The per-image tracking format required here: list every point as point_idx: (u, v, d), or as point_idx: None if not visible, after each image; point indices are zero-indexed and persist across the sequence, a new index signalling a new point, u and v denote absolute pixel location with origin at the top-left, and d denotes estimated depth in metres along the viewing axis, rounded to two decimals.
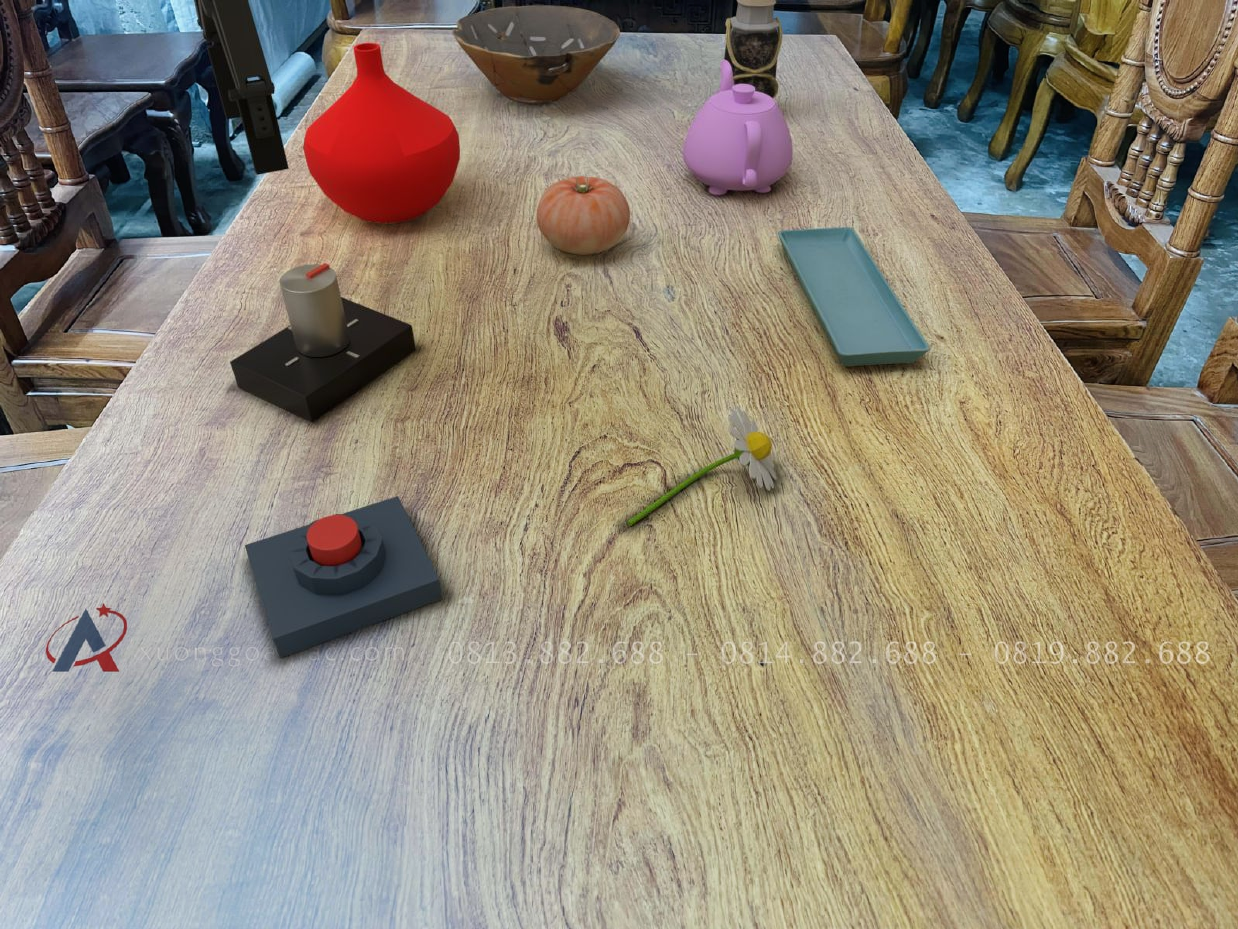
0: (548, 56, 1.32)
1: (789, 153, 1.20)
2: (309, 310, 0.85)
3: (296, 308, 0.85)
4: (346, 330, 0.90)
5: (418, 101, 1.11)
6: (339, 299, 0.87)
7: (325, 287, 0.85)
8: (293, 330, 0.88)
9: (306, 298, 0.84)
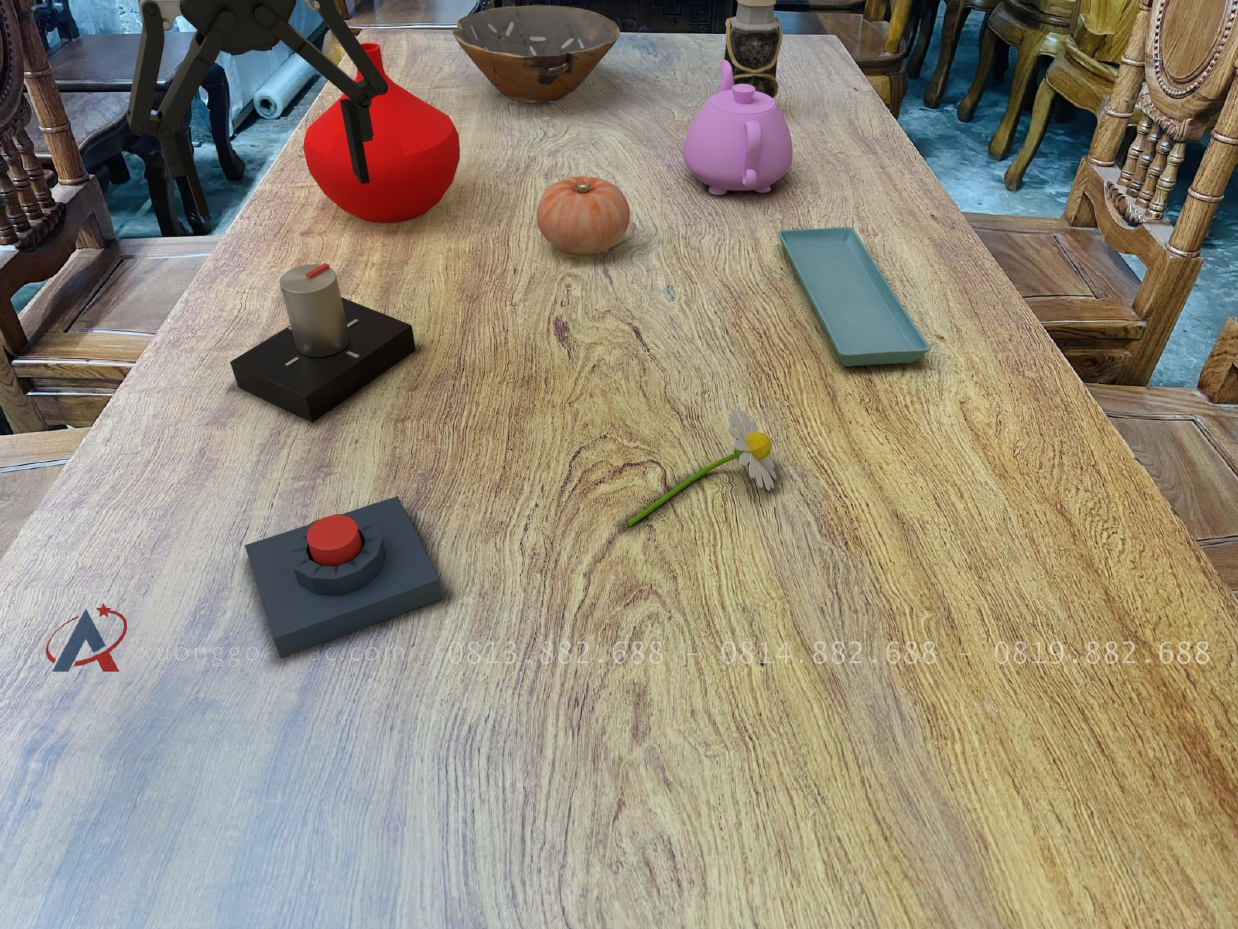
0: (548, 56, 1.32)
1: (789, 153, 1.20)
2: (309, 310, 0.85)
3: (296, 308, 0.85)
4: (346, 330, 0.90)
5: (418, 101, 1.11)
6: (339, 299, 0.87)
7: (325, 287, 0.85)
8: (293, 330, 0.88)
9: (306, 298, 0.84)
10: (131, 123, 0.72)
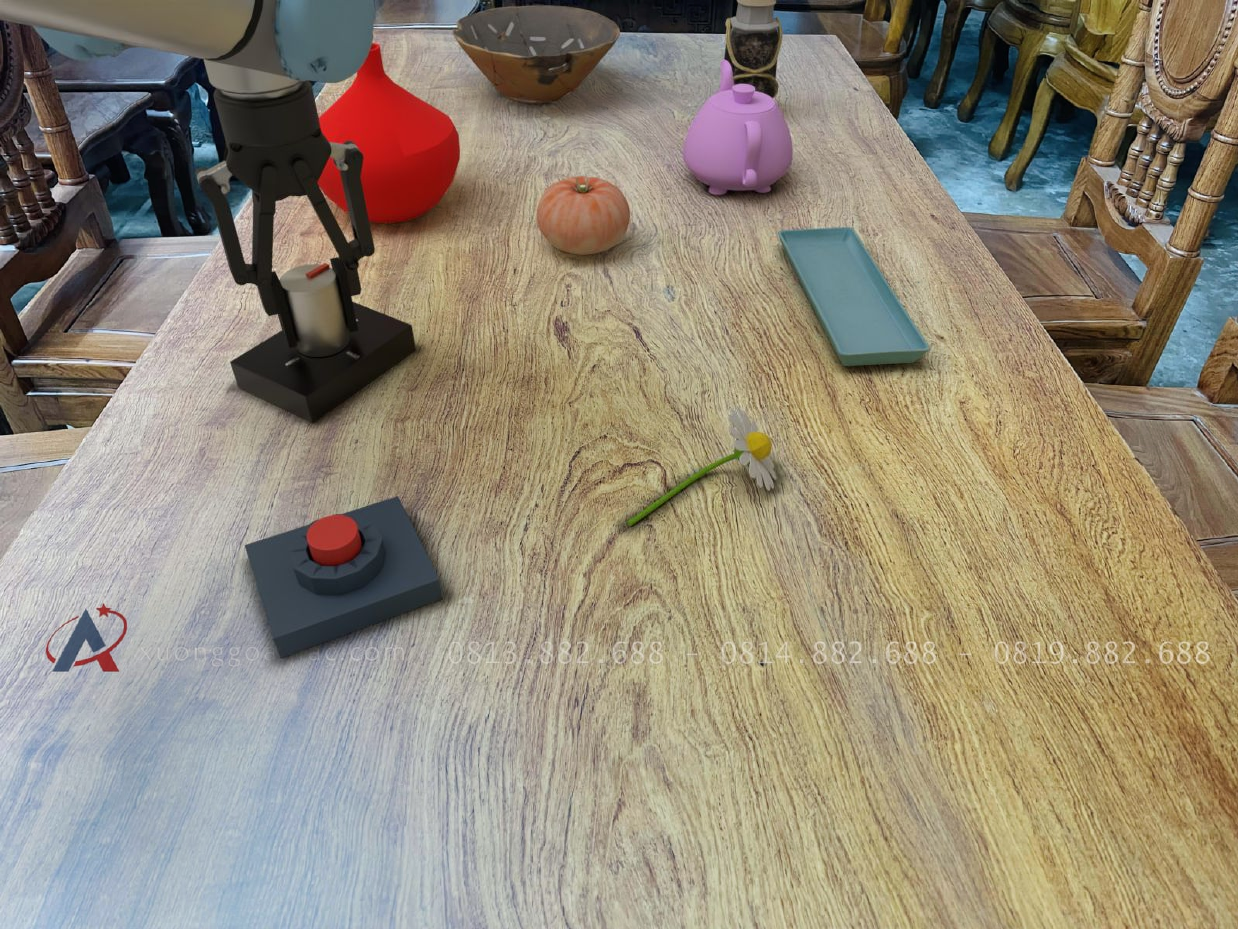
0: (548, 56, 1.32)
1: (789, 153, 1.20)
2: (309, 310, 0.85)
3: (296, 308, 0.85)
4: (346, 330, 0.90)
5: (418, 101, 1.11)
6: (339, 299, 0.87)
7: (325, 287, 0.85)
8: None
9: (306, 298, 0.84)
10: (234, 278, 0.81)
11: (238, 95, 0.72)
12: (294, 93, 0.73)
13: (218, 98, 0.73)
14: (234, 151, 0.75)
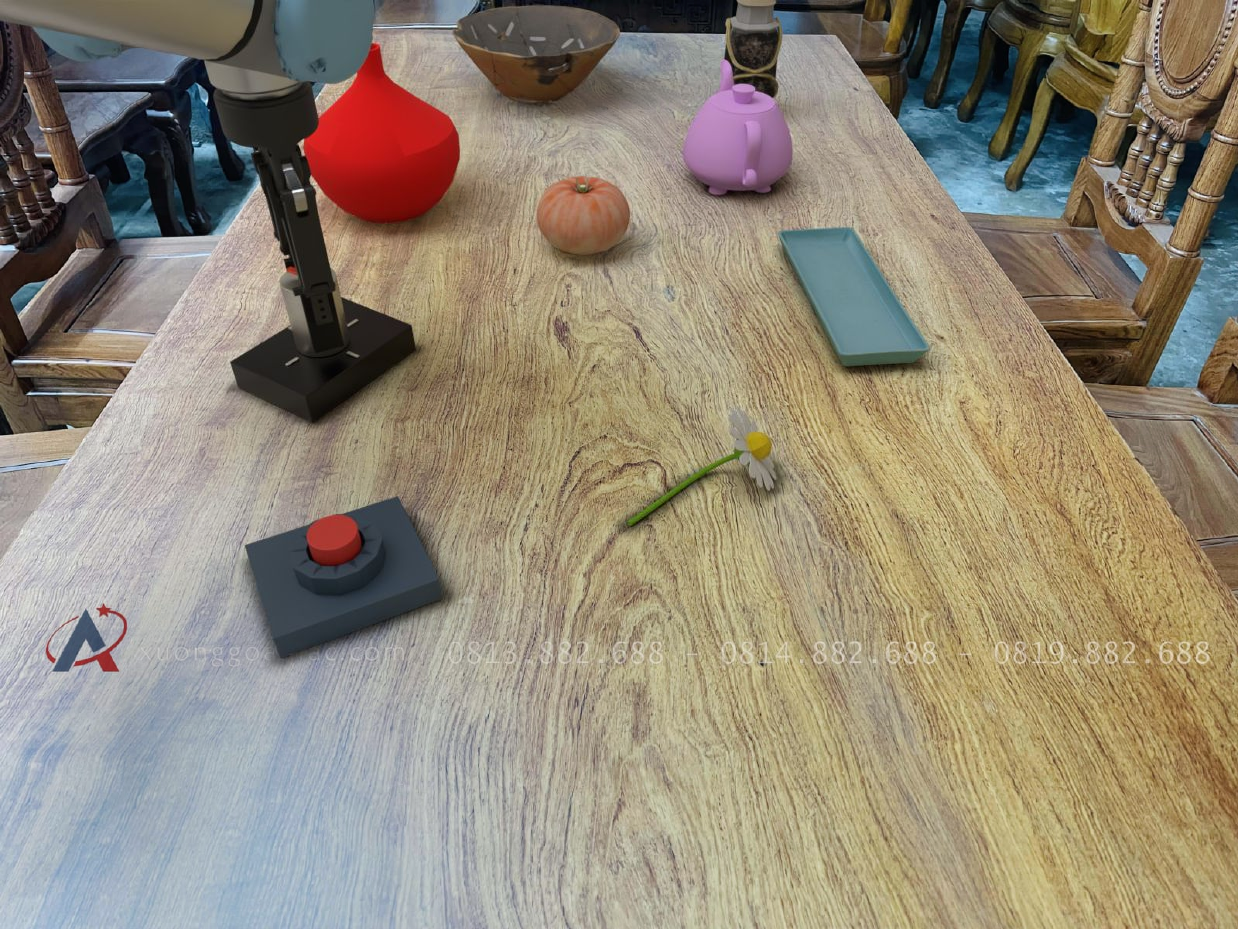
0: (548, 56, 1.32)
1: (789, 153, 1.20)
2: (339, 294, 0.87)
3: (335, 300, 0.86)
4: None
5: (418, 101, 1.11)
6: None
7: None
8: None
9: (337, 282, 0.87)
10: (333, 285, 0.81)
11: (296, 85, 0.74)
12: None
13: (280, 102, 0.72)
14: None
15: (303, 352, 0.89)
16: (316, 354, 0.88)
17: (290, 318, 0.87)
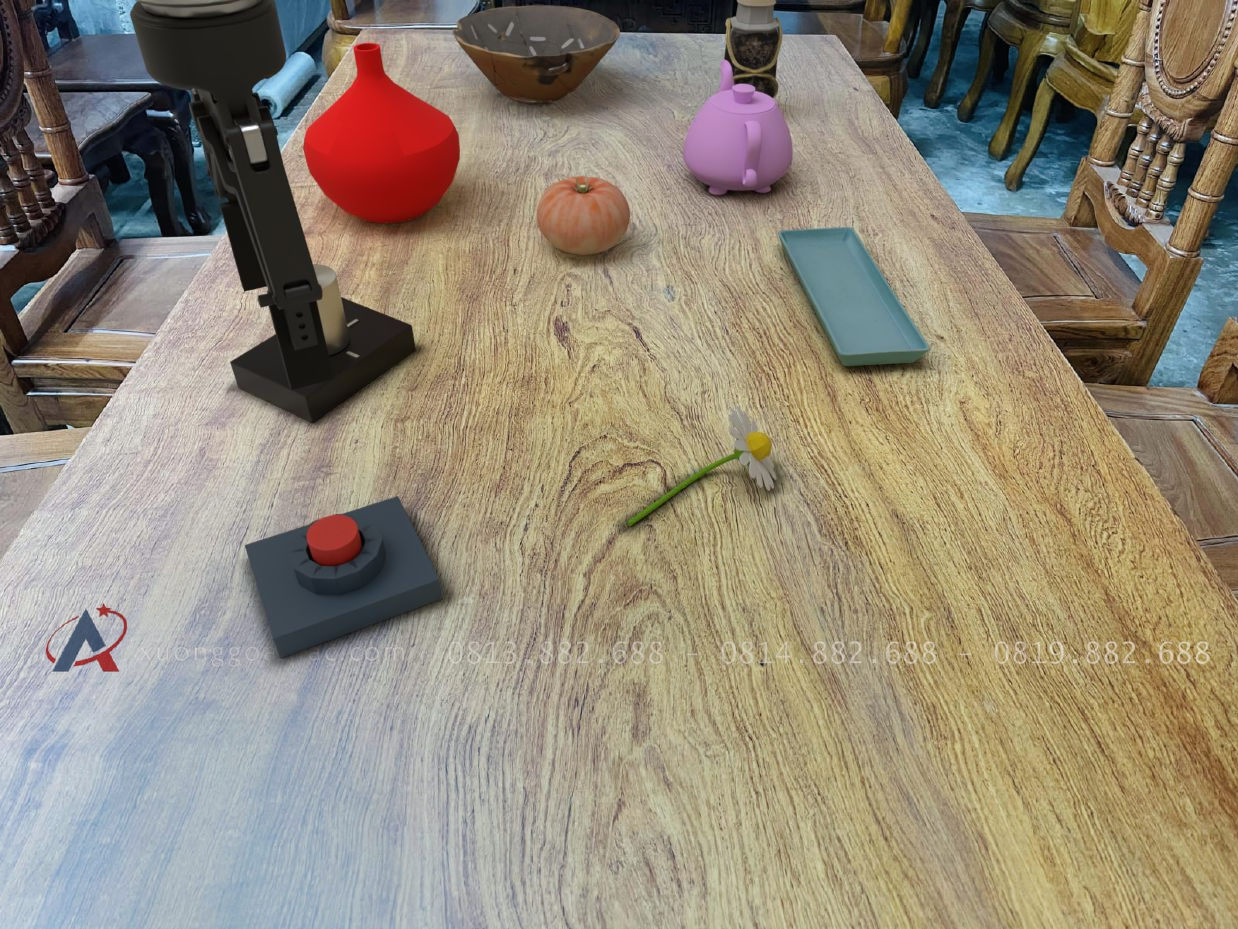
0: (548, 56, 1.32)
1: (789, 153, 1.20)
2: (339, 294, 0.87)
3: (335, 300, 0.86)
4: None
5: (418, 101, 1.11)
6: None
7: (329, 267, 0.87)
8: (330, 332, 0.87)
9: (337, 282, 0.87)
10: (318, 286, 0.54)
11: None
12: None
13: (229, 21, 0.49)
14: None
15: None
16: None
17: None
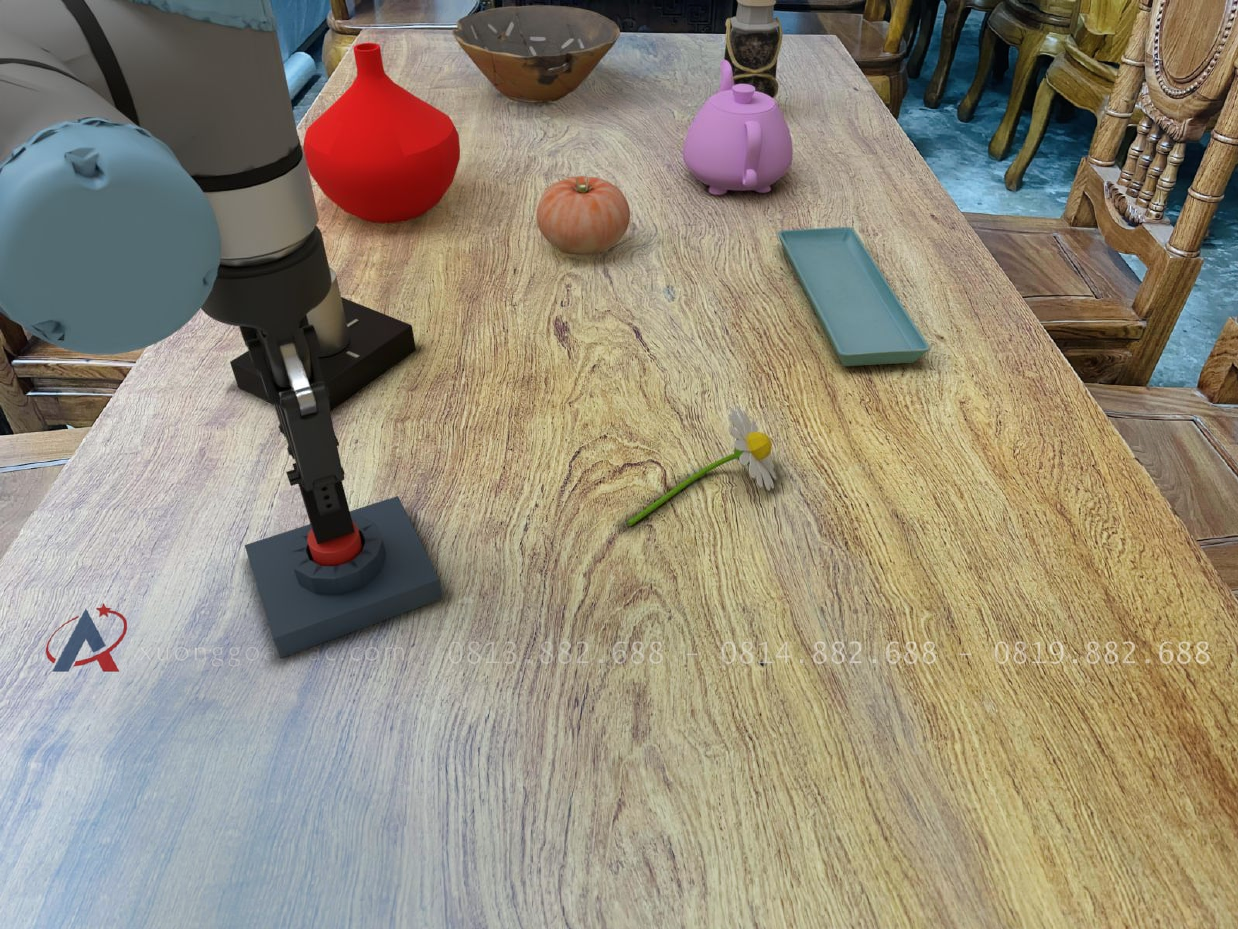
0: (548, 56, 1.32)
1: (789, 153, 1.20)
2: (339, 294, 0.87)
3: (335, 300, 0.86)
4: None
5: (418, 101, 1.11)
6: None
7: (329, 267, 0.87)
8: (330, 332, 0.87)
9: (337, 282, 0.87)
10: (342, 476, 0.61)
11: (301, 240, 0.52)
12: None
13: (278, 267, 0.51)
14: (302, 334, 0.54)
15: None
16: None
17: None
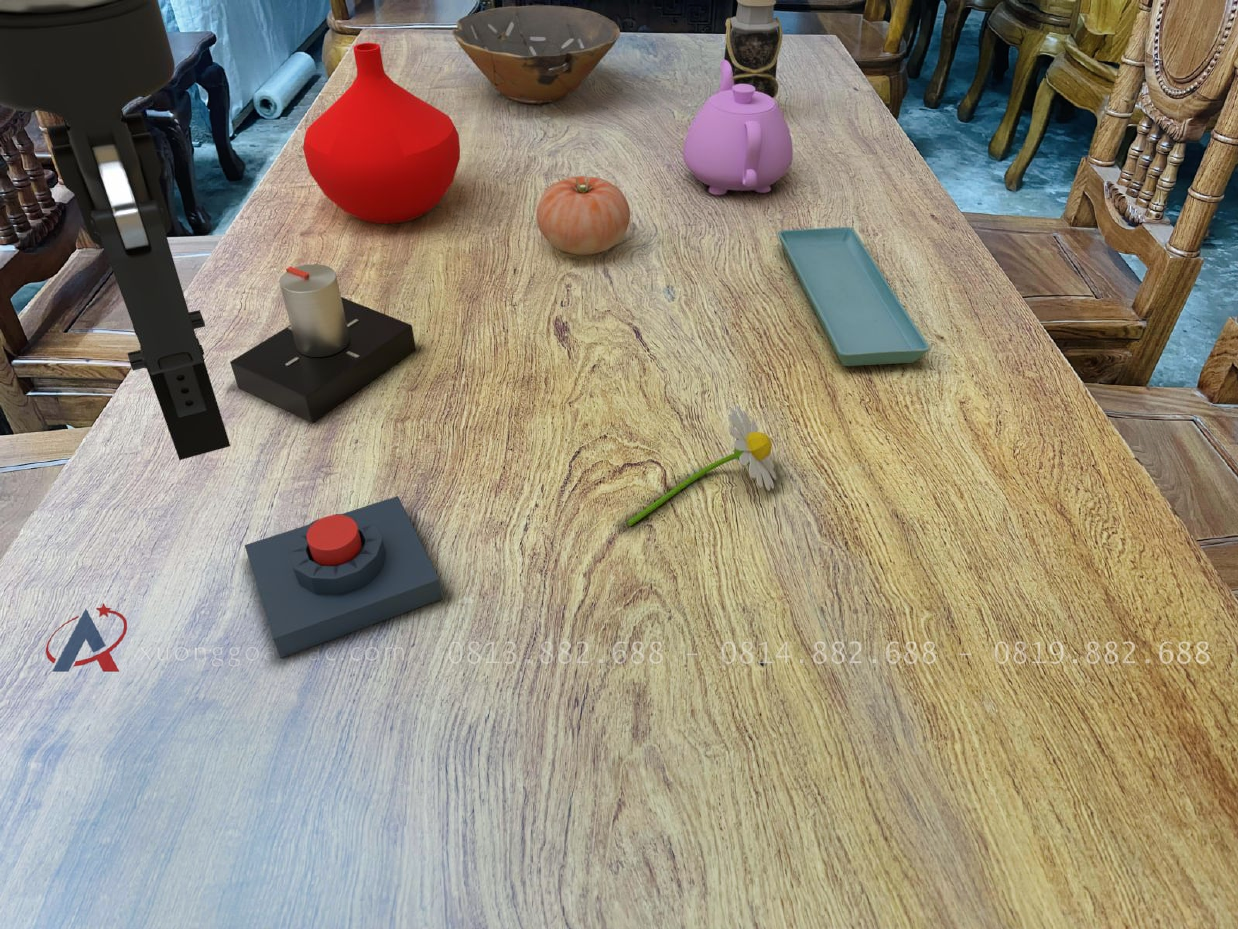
0: (548, 56, 1.32)
1: (789, 153, 1.20)
2: (339, 294, 0.87)
3: (335, 300, 0.86)
4: None
5: (418, 101, 1.11)
6: None
7: (329, 267, 0.87)
8: (330, 332, 0.87)
9: (337, 282, 0.87)
10: (200, 355, 0.46)
11: None
12: None
13: (80, 18, 0.36)
14: (125, 130, 0.38)
15: (303, 352, 0.89)
16: (316, 354, 0.88)
17: (290, 318, 0.87)
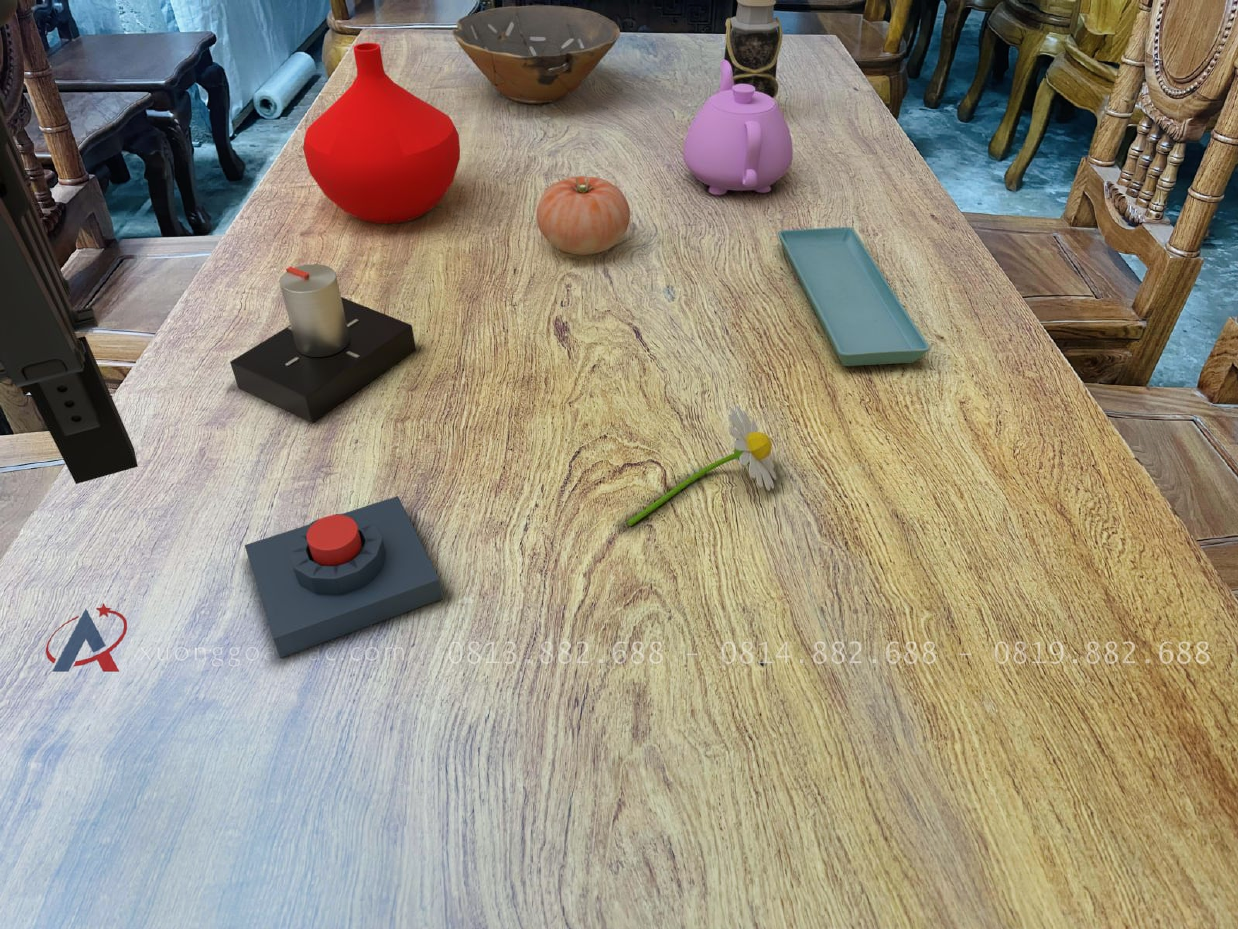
0: (548, 56, 1.32)
1: (789, 153, 1.20)
2: (339, 294, 0.87)
3: (335, 300, 0.86)
4: None
5: (418, 101, 1.11)
6: None
7: (329, 267, 0.87)
8: (330, 332, 0.87)
9: (337, 282, 0.87)
10: (77, 363, 0.38)
11: None
12: None
13: None
14: None
15: (303, 352, 0.89)
16: (316, 354, 0.88)
17: (290, 318, 0.87)
